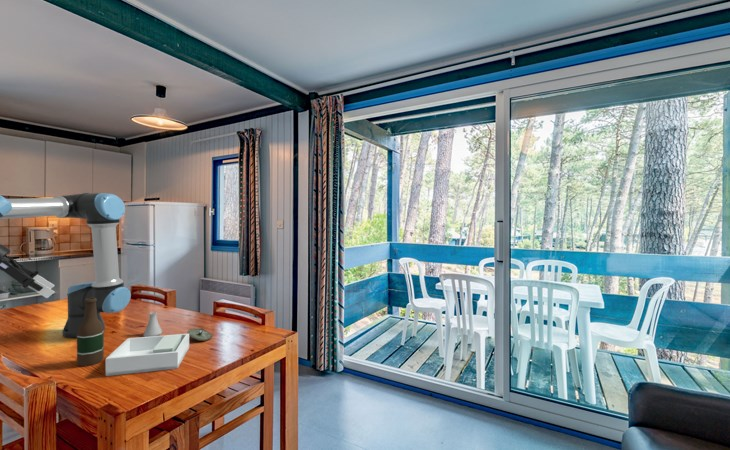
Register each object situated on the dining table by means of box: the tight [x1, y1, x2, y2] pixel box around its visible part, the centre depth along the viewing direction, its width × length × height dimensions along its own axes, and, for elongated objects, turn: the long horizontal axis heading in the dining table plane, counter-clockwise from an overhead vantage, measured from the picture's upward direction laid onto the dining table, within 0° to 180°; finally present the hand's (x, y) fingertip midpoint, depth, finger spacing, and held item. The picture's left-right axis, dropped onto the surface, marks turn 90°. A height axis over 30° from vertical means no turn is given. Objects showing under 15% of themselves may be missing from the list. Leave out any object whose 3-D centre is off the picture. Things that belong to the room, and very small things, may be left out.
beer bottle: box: [76, 298, 105, 368], centre depth 124 cm, size 8×8×24 cm
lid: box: [186, 327, 213, 342], centre depth 149 cm, size 11×10×5 cm
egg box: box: [153, 334, 182, 353], centre depth 128 cm, size 14×6×6 cm, turn 17°
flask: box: [142, 311, 163, 337], centre depth 154 cm, size 7×7×10 cm
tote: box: [105, 333, 190, 377], centre depth 127 cm, size 20×22×6 cm
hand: (51, 291), depth 118 cm, fingers open, 13 cm apart
